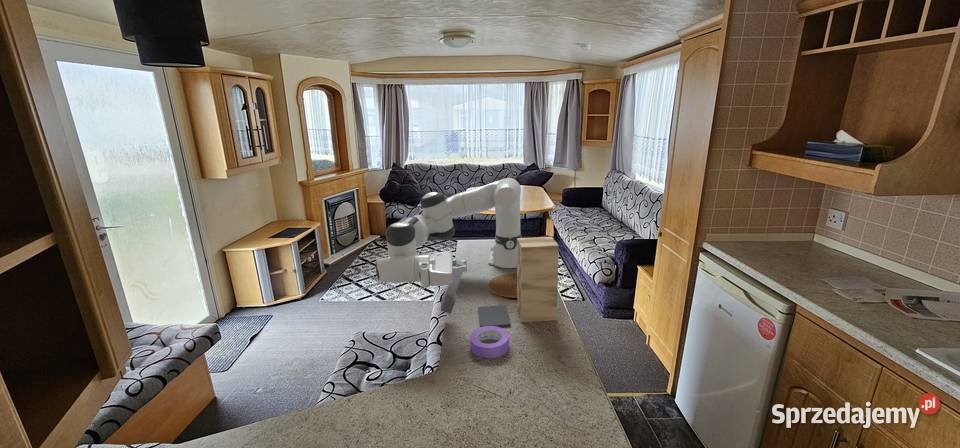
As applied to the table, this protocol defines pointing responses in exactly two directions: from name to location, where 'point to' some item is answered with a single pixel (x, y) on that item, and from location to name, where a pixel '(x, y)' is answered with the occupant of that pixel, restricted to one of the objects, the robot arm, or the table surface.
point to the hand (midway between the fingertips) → (466, 265)
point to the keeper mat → (494, 316)
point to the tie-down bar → (451, 291)
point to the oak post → (537, 278)
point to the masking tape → (489, 349)
